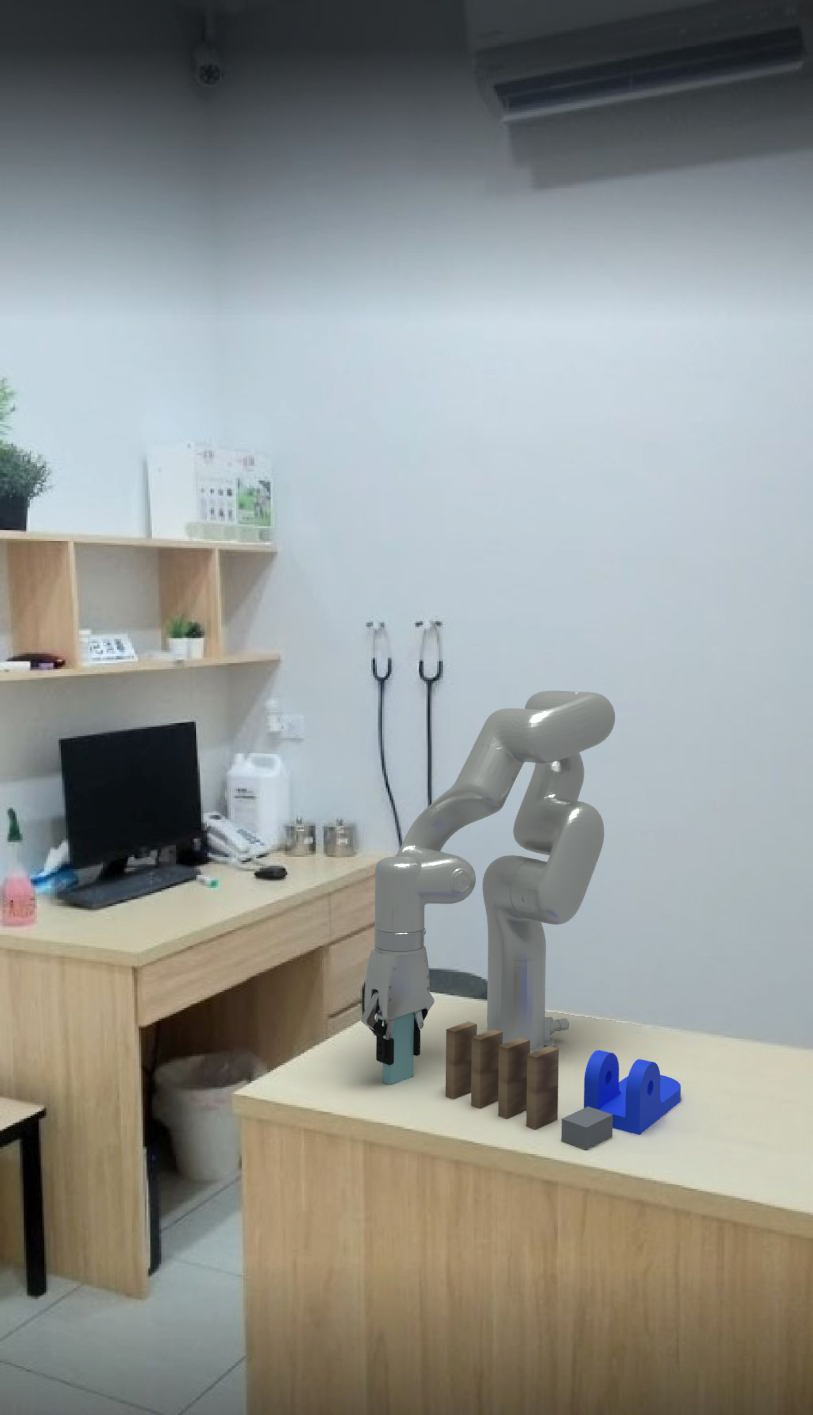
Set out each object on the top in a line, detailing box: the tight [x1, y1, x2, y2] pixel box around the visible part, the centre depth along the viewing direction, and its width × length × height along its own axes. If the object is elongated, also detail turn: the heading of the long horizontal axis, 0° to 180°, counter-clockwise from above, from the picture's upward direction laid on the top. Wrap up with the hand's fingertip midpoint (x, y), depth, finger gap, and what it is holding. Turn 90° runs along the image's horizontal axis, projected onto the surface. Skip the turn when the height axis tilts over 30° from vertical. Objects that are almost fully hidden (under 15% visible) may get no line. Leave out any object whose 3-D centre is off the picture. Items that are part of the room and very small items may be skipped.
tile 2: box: [444, 1021, 478, 1101], centre depth 168 cm, size 5×2×10 cm, turn 136°
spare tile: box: [382, 1013, 415, 1086], centre depth 173 cm, size 5×2×10 cm, turn 136°
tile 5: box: [525, 1046, 560, 1131], centre depth 157 cm, size 5×2×10 cm, turn 136°
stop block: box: [560, 1106, 614, 1151], centre depth 152 cm, size 6×4×3 cm, turn 136°
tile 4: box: [497, 1037, 530, 1120], centre depth 161 cm, size 5×2×10 cm, turn 136°
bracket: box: [583, 1049, 682, 1136], centre depth 164 cm, size 18×8×9 cm, turn 145°
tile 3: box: [470, 1029, 503, 1110], centre depth 164 cm, size 5×2×10 cm, turn 136°
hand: (398, 1056), depth 173 cm, fingers closed on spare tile, 5 cm apart
